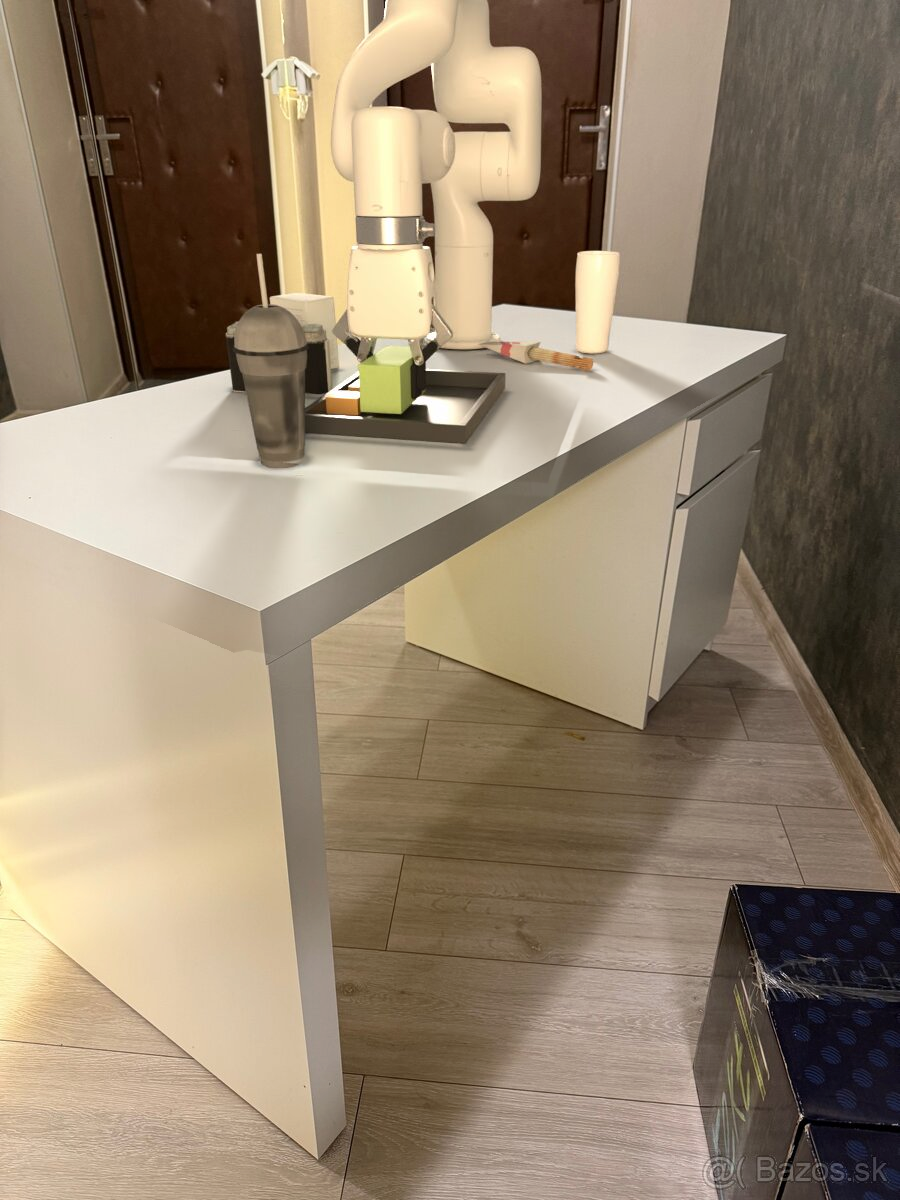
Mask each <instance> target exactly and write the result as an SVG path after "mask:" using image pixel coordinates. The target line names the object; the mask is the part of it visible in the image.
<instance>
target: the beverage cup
mask: <svg viewBox="0 0 900 1200" xmlns="http://www.w3.org/2000/svg"><path fill="white" fill-rule="evenodd" d="M256 262H257V270H258V271H257V272H258V278H259V287H260V295H261V302H262V304H257V305H255V306H253V307H251V308H250V309H248V310H247V311H246V312H244V313H243V314H242V316H241V317H240V319H239V320H238V321H239V322H238V324H237V327H236V331H235V337H234V343H235V345H234V349H233V350H234V352H235V353H236V357H237V362H238V365H239V368H240V371H241V372H242V375H243V380H244V385H245V390H246V392H245V394H246V399H247V404H248V410H249V415H250V420H251V425H252V429H253V434H254V440H255V444H256V445H255V446H256V449H257V452H258V455H259V459H260V464H261V465H262V466H264V467H267V468H274V469H283V468H284V469H285V468H292V467H296V466H299V465H300V463H294V462H296V461H298V460H301V459H303V457H304V456H305V446H306V433H305V408H306V393H305V369H306V364H307V349H308V344H307V343H306V337H305V334H304V331H303V329H302V326H301V325H300V323H299V321H298V320H297V318H296V317H295V316H294V315H293V314H292V313H291V312H290V311H288V310H287V309H285V308H283V307H281V306H279V305H274V304H270V303H269V301H268V294H267V284H266V276H265V268H264V260H263V254H262V253H256ZM291 462H293V463H291Z"/></svg>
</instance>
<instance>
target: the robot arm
mask: <svg viewBox="0 0 900 1200" xmlns="http://www.w3.org/2000/svg"><path fill="white" fill-rule="evenodd" d="M383 16H384V17H383V20H382V21H381V22H380V23H379V24H378V25H376V27H375V28H374V29H373V30H372V31H371V32H369V34H368V35H367V36H366V37H365V38H364V39H363V40H362V41H361V43H360V44H359V45H358V47H356V49H355V50H354V52H353V53H352V55H351V56H350V57H349V59H347V61H346V63H345V65H344V67H343V69H342V71H341V73H340V75H339V78H338V81H337V85H336V90H335V96H334V104H333V112H332V119H331V130H330V151H331V152H330V153H331V157H332V163H333V165H334V167H335V169H336V171H337V172H338V174H339V175H340V176H341V177H342V178H343V179H345V180H346V181H349V182H352V183H353V194H354V195H353V197H354V214H355V236H356V245H354V246H352V247H351V249H350V256H349V265H348V275H347V292H346V309H345V311H344V312H343V314H342V315H341V317H340V318H339V320H338V321H337V322H336V325H335V327H334V328H333V334H334V335H335V336H336V337H337V340H339V341H340V342H341V343H343V344H345V346H346V347H347V349H348V350H350V352H351V353H352V354H353V355H354V356H355V357H356V359H357V361H358V362H359V364H360V363H362V362H363V361H365V360H366V359H368V358H369V357H371V356H372V355H374V354H375V353H374V352H375V349H376V344H377V339H380V340H381V339H383V340H384V339H385V340H407V342H408V345H409V346H408V347H410V349H411V353H412V356H413V365H411V368H410V372H411V398H412V399H417V398H418V397H419V396H420V395H421V394H422V391H424V390H425V389H426V369H427V361H428V360H429V359H430V358H431V357H432V356H433V355H434V354H435V353H436V352H437V351H438V350H439V349H447V350H480V349H487V348H486V347H483V346H481V345H478V344H482V343H486V342H501V336H500V335H499V334H498V333H497V332H496V333H495V332H493V331H492V322H493V320H492V319H493V317H492V313H493V274H494V273H493V272H494V271H493V270H494V269H493V268H494V267H493V266H494V263H493V262H494V231H493V226H492V224H491V223H490V221H489V218H488V217H487V215H486V214H485V213H484V211H483V210H482V209H481V208H480V206H479V204H478V203H479V202H518V201H525V200H529V199H531V198H532V197H534V195H535V194H536V193H537V190H538V188H539V185H540V179H541V169H542V168H541V167H542V165H541V163H542V99H543V97H542V96H543V95H542V94H543V93H542V92H543V91H542V72H541V67H540V63H539V59H538V57H537V56H536V54H535V52H533V51H532V50H531V49H529V48H527V47H523V46H493V45H492V43H491V39H490V7H489V2H488V0H385V8H384V15H383ZM430 66H431V75H432V90H433V98H434V104H435V109H436V111H435V110H430V109H411V108H408V107H404V106H403V107H402V106H372V104H373V102H374V101H375V100H376V99H377V98H378V96H381V94H382V93H383V92H384V91H386V90H387V89H388V88H390V87H392V86H393V85H395V84H396V83H398V82H399V83H400V82H401V81H402V80H404V79H406V78H407V79H408V78H409V77H410V76H413V75H415V74H416V73H419V72H421V71H422V70H425V69H426V68H428V67H430ZM450 123H455V124H505V125H506V126H507V127H508V129H509V131H455V132H454V130H453V129H452V127H451V125H450ZM423 184H430V189H431V194H432V203H433V204H432V205H433V218H434V223H429V222H428V221H426V220H425V217H424V216H423ZM429 237H434V262H433V257H432V256H433V255H432V250H431V246H425V245H424V242H425V239H426V238H429ZM358 337H359V338H358ZM425 338H426V339H425Z"/></svg>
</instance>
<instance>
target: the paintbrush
mask: <svg viewBox="0 0 900 1200" xmlns="http://www.w3.org/2000/svg"><path fill="white" fill-rule="evenodd" d="M541 343H542V342H541V341H500V342H486V343H482V344H478V345H481V346H483V347H486V348H485V349H488V350H491V351H494V352H496V353H498V354H501V355H503V356H505V357H508V358H510V359H513V360H515V361H518V362H520V363H523V364H530V363H533V362H536V361H541V362H545V363H550V364H554V365H560V366H565V367H568V368H576V367H577V368H578V369H580V370H583V371H591V370H592V369H593V366H594V359H593V358H591V357H586V356H583V357H580V355H576V354H571V353H566V352H561V351H555V350H551V349H545V348H542V347H540V345H541Z"/></svg>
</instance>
